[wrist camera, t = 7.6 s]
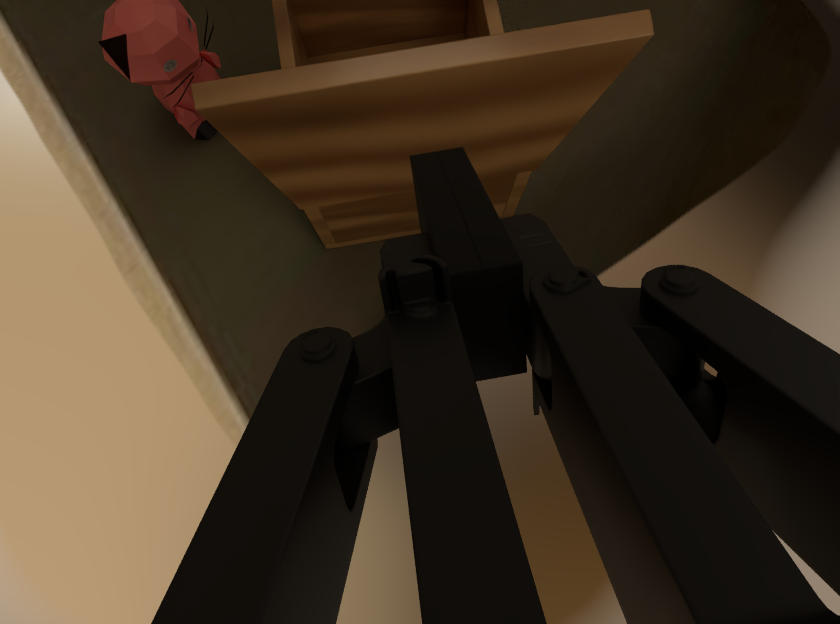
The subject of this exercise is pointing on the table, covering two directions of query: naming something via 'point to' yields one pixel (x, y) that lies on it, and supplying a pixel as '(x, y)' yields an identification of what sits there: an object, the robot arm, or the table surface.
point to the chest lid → (420, 107)
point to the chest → (371, 34)
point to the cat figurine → (161, 55)
